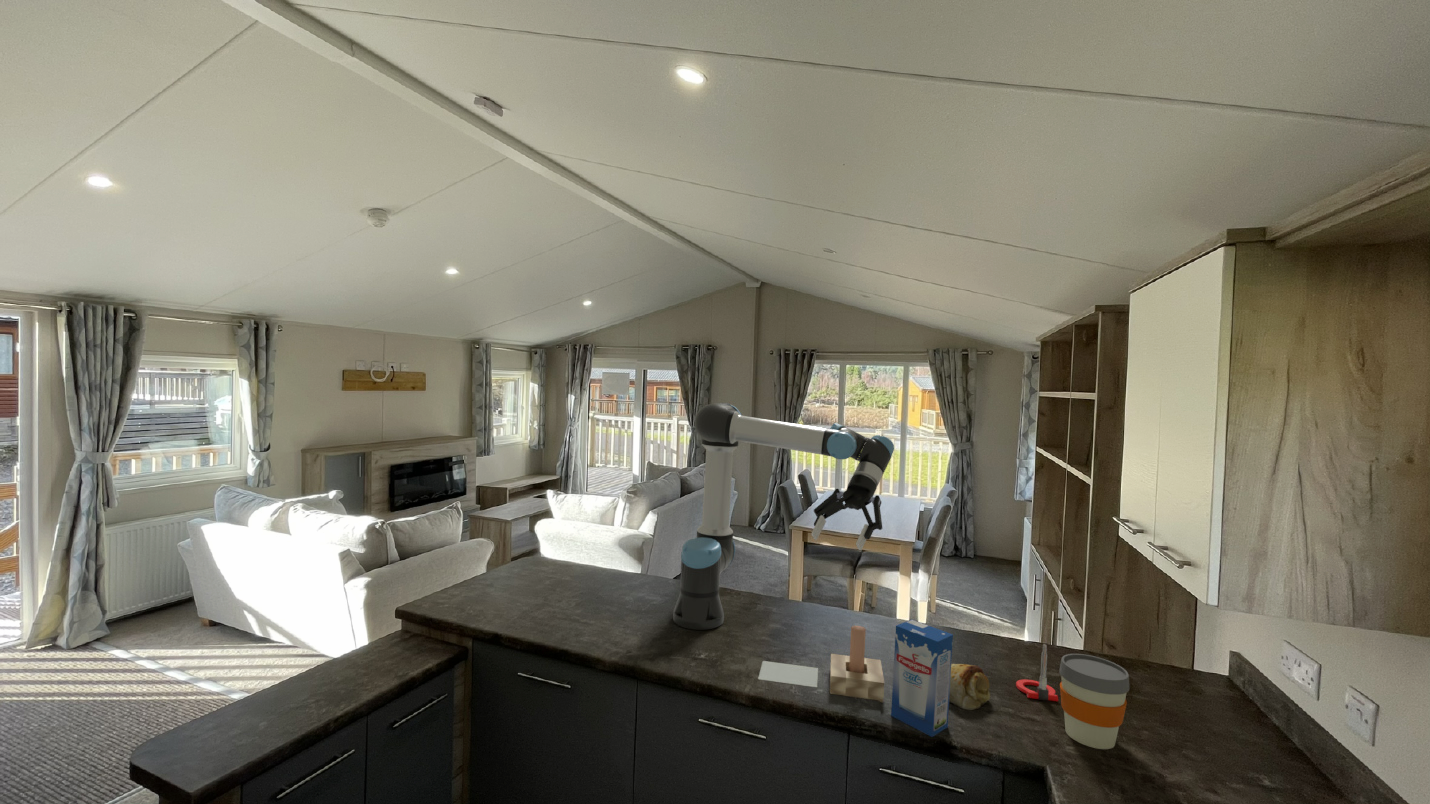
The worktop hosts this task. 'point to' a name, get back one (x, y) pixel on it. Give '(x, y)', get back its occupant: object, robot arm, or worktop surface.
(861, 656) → the peg
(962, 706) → the pastry
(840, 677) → the hole block
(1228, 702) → the worktop surface
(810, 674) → the mat
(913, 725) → the milk carton
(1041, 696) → the tow hook
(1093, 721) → the reusable coffee cup
